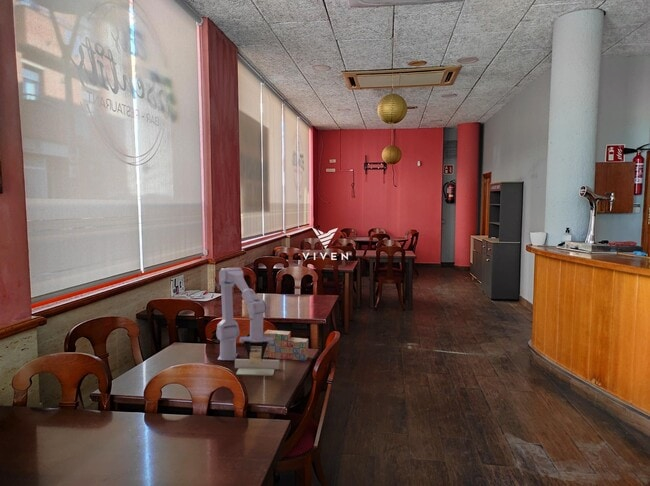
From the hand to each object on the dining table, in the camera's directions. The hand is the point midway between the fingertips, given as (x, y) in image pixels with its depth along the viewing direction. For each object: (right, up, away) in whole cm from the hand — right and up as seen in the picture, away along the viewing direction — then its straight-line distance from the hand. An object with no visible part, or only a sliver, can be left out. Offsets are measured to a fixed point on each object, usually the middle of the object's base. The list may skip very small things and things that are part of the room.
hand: (255, 358), depth 195 cm
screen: (0, -6, +5) cm, 8 cm away
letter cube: (0, -2, 0) cm, 2 cm away
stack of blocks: (+11, -6, +23) cm, 26 cm away
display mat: (0, -6, 0) cm, 6 cm away
